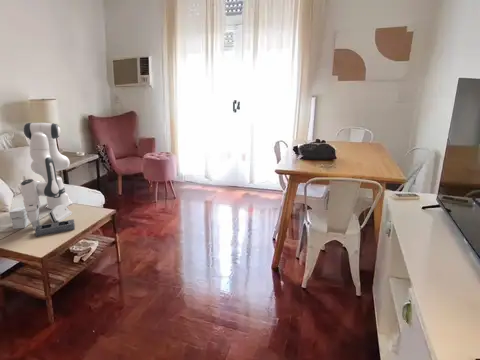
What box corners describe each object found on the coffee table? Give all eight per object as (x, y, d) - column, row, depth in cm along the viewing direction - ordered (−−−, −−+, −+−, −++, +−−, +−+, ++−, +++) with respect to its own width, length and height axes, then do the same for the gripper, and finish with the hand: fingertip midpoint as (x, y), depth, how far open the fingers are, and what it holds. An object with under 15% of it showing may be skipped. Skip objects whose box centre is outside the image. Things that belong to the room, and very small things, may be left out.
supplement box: (13, 229, 227) (8, 211, 223) (17, 224, 234) (13, 207, 230) (25, 228, 229) (21, 210, 225) (29, 223, 236) (25, 206, 232)
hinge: (58, 222, 235) (51, 210, 233) (53, 224, 236) (46, 212, 234) (72, 213, 251) (66, 201, 249) (67, 215, 252) (60, 203, 250)
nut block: (33, 227, 229) (31, 217, 227) (40, 226, 231) (38, 215, 229) (33, 229, 226) (30, 219, 223) (40, 228, 227) (37, 218, 225)
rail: (37, 231, 223) (36, 225, 222) (74, 224, 232) (73, 219, 230) (36, 236, 216) (35, 231, 214) (74, 229, 224) (73, 223, 223)
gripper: (28, 200, 231) (32, 219, 235) (24, 210, 213) (29, 230, 217) (39, 198, 233) (43, 217, 238) (36, 208, 216) (40, 228, 220)
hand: (36, 223), depth 227 cm, fingers open, 8 cm apart
